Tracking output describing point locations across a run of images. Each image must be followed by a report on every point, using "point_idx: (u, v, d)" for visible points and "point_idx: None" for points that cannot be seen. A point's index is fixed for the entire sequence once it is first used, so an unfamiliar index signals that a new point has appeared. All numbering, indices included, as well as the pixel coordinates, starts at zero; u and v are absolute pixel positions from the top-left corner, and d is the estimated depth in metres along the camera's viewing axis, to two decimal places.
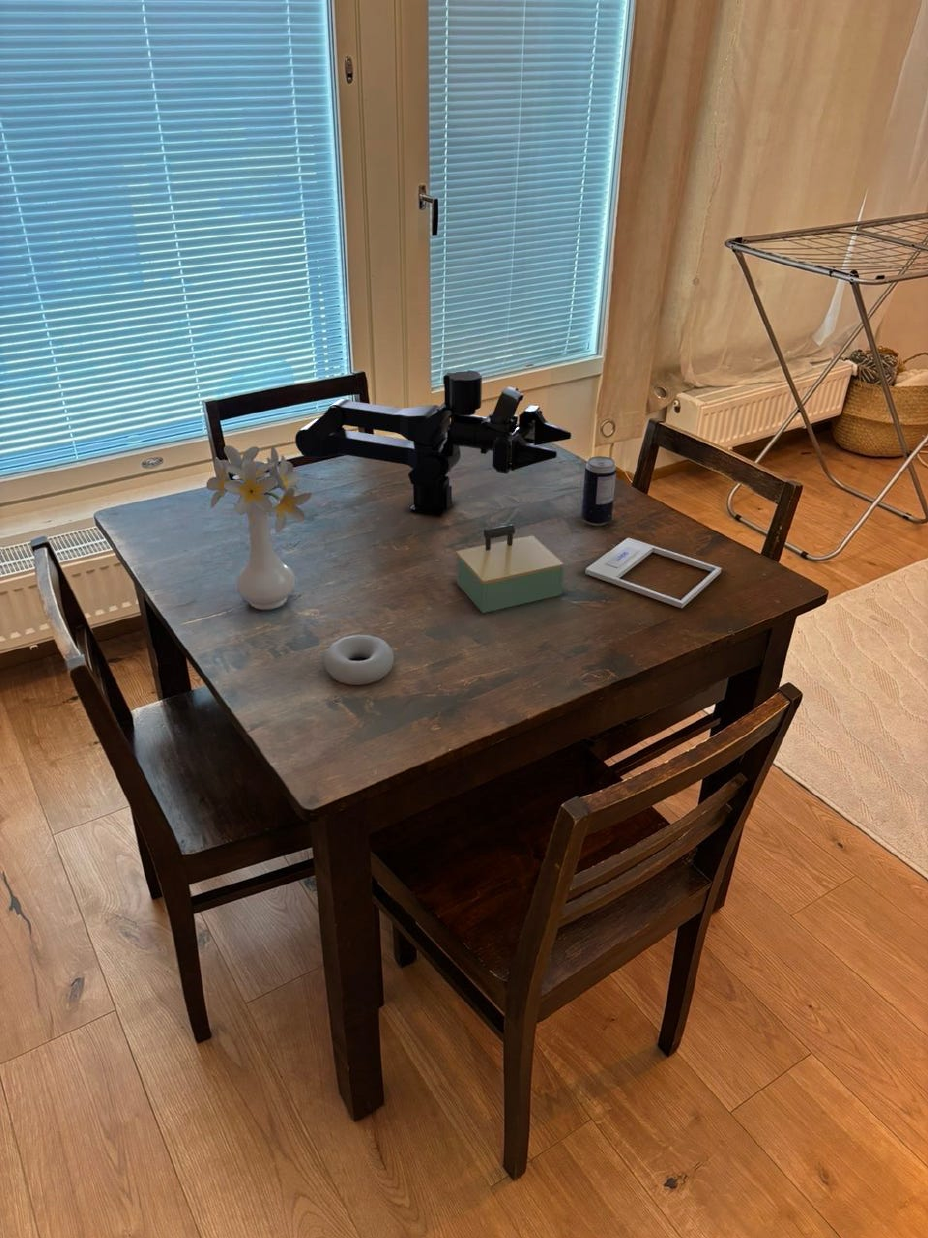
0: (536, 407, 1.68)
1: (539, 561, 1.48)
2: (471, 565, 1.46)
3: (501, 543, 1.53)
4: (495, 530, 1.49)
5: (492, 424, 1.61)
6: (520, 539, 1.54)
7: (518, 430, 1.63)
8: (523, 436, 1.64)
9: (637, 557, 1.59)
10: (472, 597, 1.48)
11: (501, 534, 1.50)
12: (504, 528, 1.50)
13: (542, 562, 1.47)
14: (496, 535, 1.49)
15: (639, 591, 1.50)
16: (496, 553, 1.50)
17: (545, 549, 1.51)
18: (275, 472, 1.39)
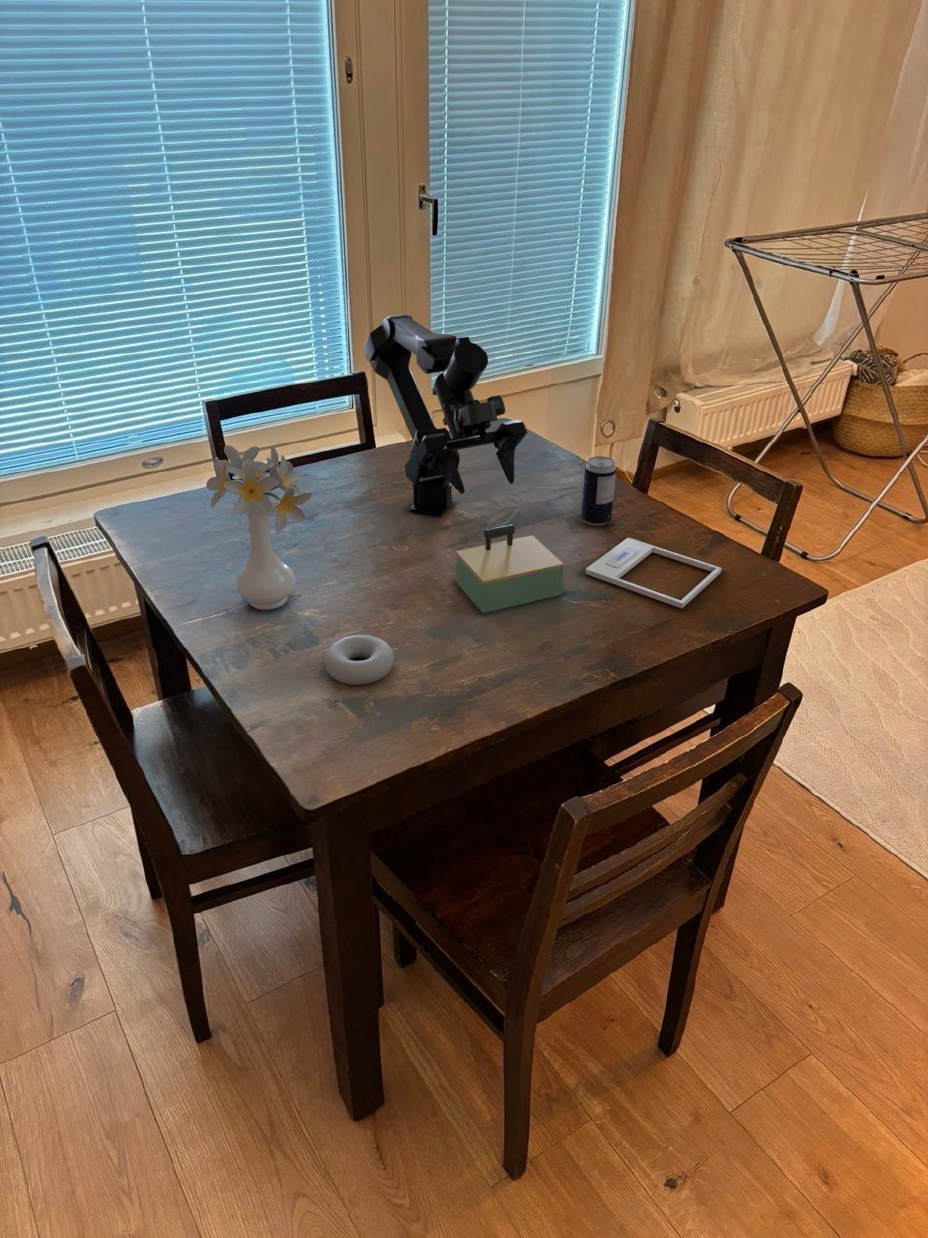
0: (522, 430, 1.54)
1: (539, 561, 1.48)
2: (471, 565, 1.46)
3: (501, 543, 1.53)
4: (495, 530, 1.49)
5: (454, 415, 1.51)
6: (520, 539, 1.54)
7: (475, 438, 1.53)
8: (479, 444, 1.55)
9: (637, 557, 1.59)
10: (472, 597, 1.48)
11: (501, 534, 1.50)
12: (504, 528, 1.50)
13: (542, 562, 1.47)
14: (496, 535, 1.49)
15: (639, 591, 1.50)
16: (496, 553, 1.50)
17: (545, 549, 1.51)
18: (275, 472, 1.39)
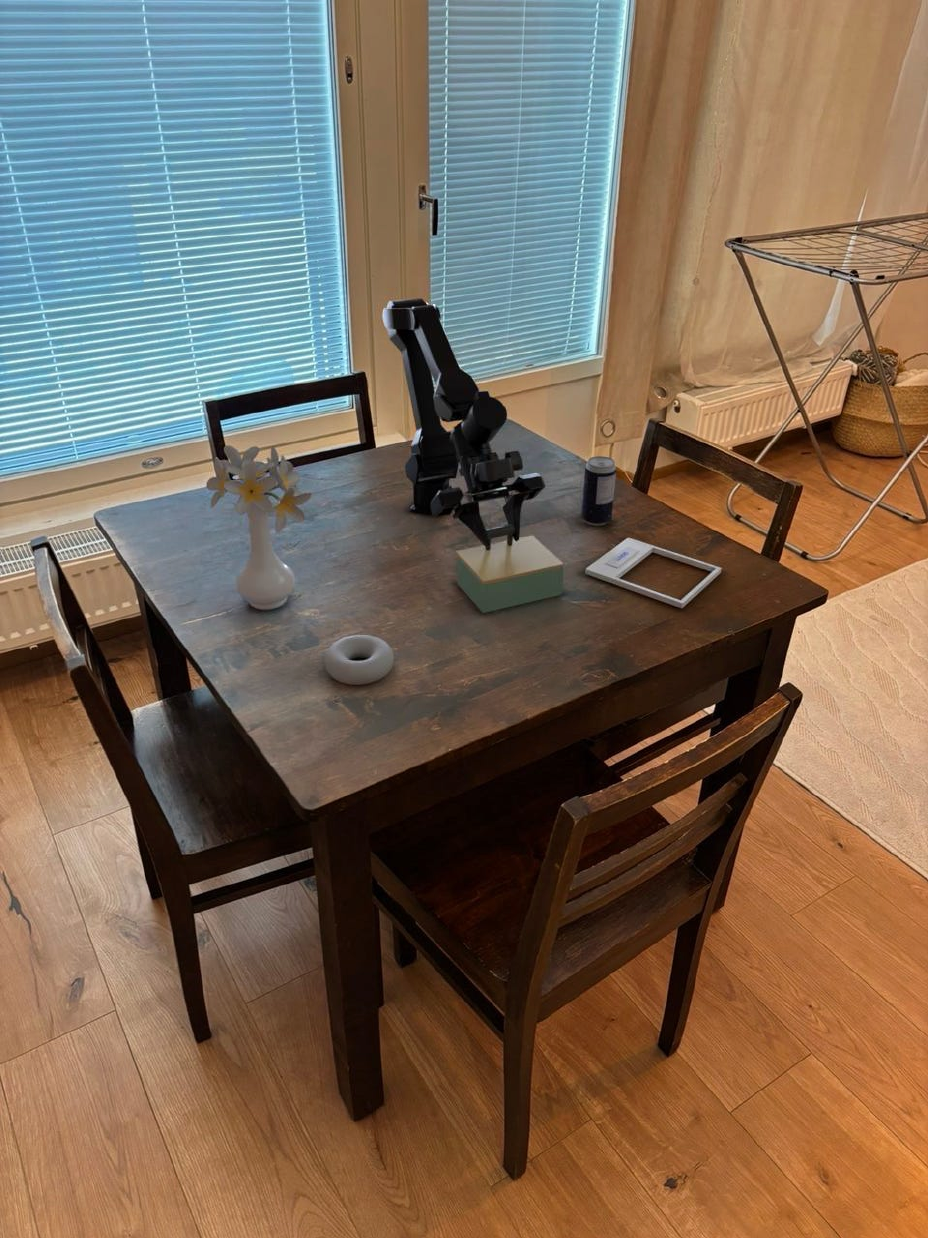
0: (539, 484, 1.51)
1: (539, 561, 1.48)
2: (471, 565, 1.46)
3: (501, 543, 1.53)
4: (495, 530, 1.49)
5: (471, 469, 1.48)
6: (520, 539, 1.54)
7: (502, 490, 1.51)
8: (495, 498, 1.52)
9: (637, 557, 1.59)
10: (472, 597, 1.48)
11: (501, 534, 1.50)
12: (504, 528, 1.50)
13: (542, 562, 1.47)
14: (496, 535, 1.49)
15: (639, 591, 1.50)
16: (496, 553, 1.50)
17: (545, 549, 1.51)
18: (275, 472, 1.39)
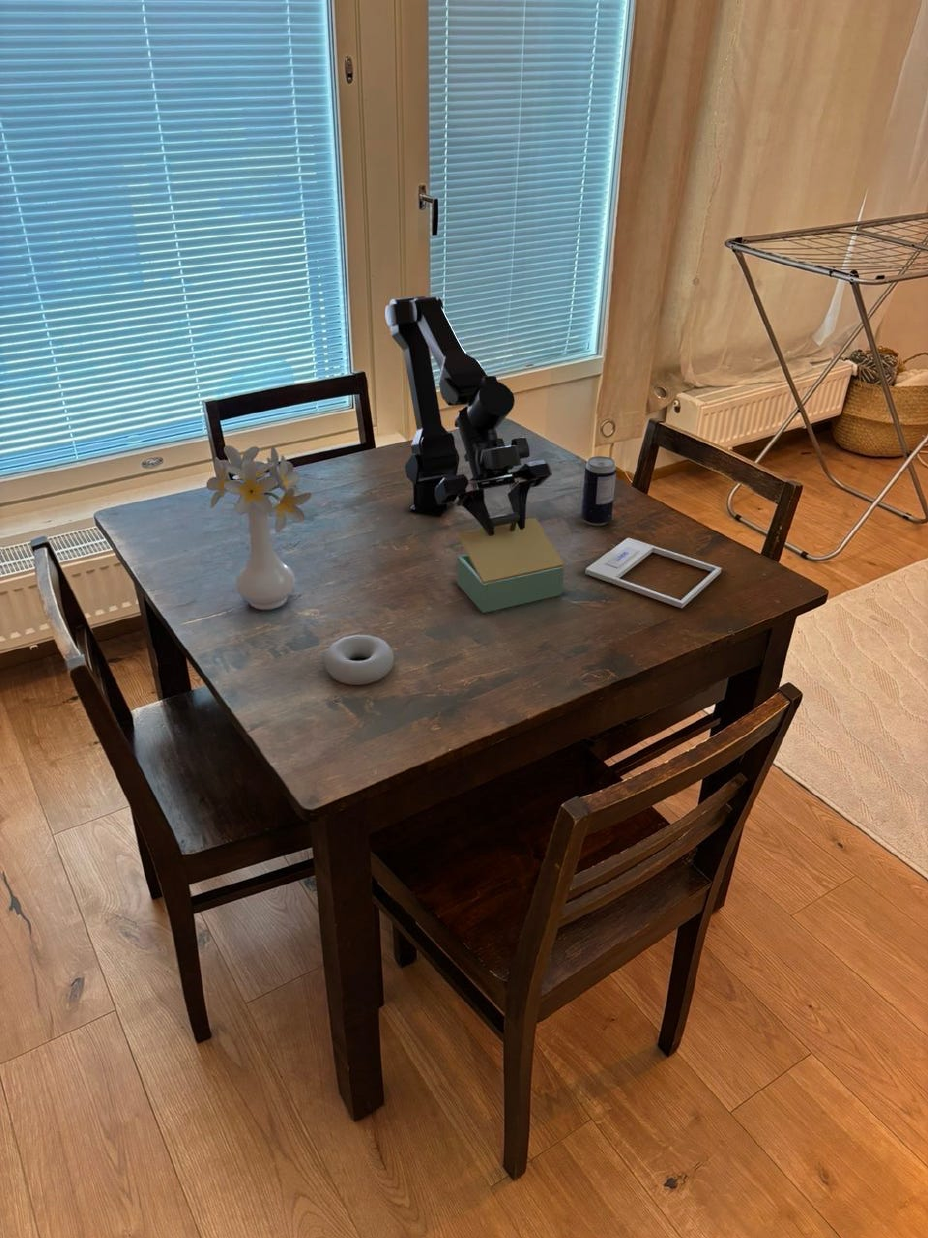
0: (546, 472, 1.48)
1: (539, 557, 1.47)
2: (472, 556, 1.45)
3: (503, 526, 1.50)
4: (500, 520, 1.46)
5: (476, 455, 1.45)
6: None
7: (508, 477, 1.48)
8: (500, 485, 1.49)
9: (637, 557, 1.59)
10: (472, 597, 1.48)
11: (506, 523, 1.47)
12: (509, 518, 1.47)
13: (543, 559, 1.47)
14: (501, 524, 1.47)
15: (639, 591, 1.50)
16: (498, 541, 1.48)
17: (547, 540, 1.50)
18: (275, 472, 1.39)
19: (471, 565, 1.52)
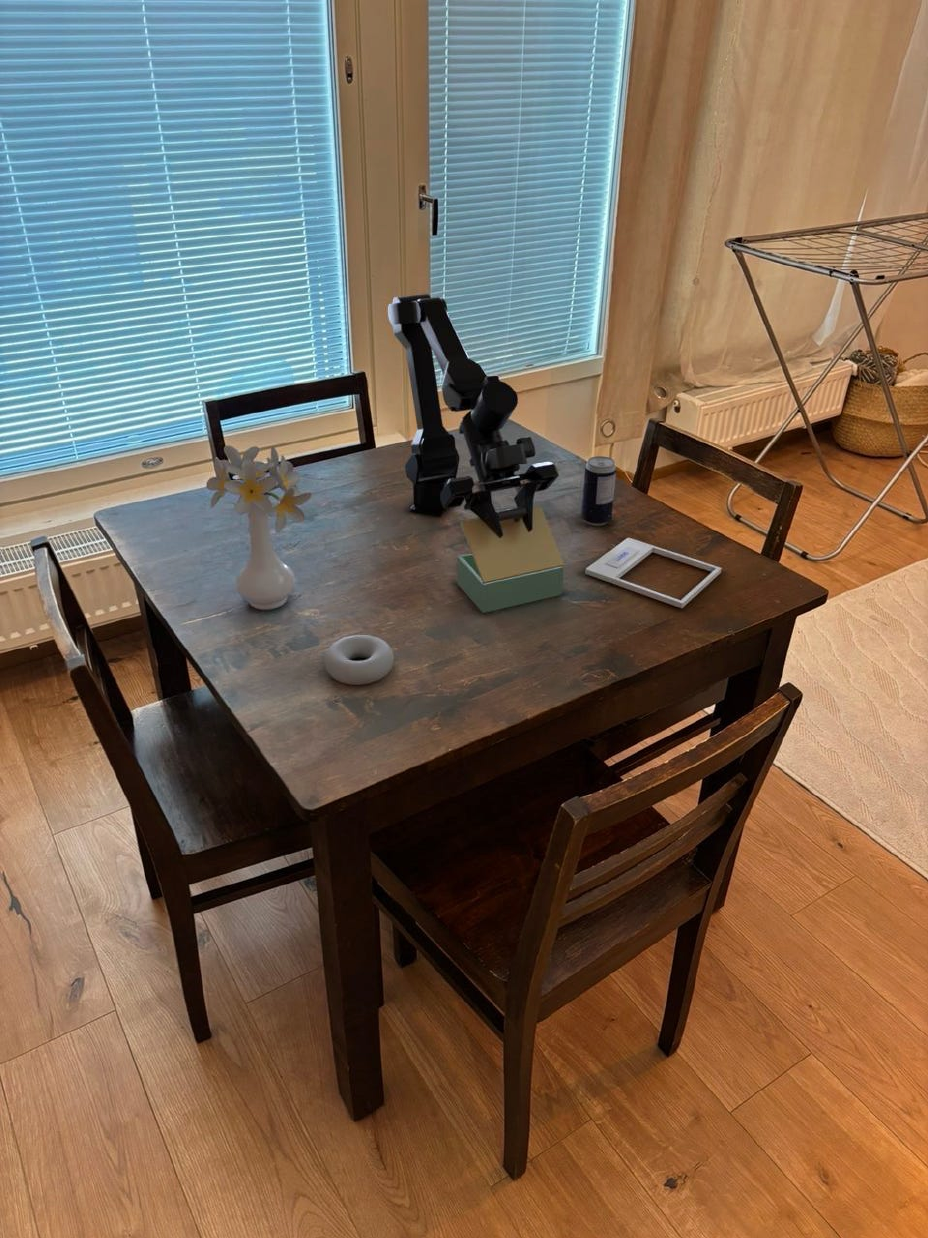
0: (552, 473, 1.46)
1: (541, 555, 1.47)
2: (474, 551, 1.44)
3: None
4: (506, 515, 1.44)
5: (482, 457, 1.43)
6: None
7: (515, 479, 1.46)
8: (507, 487, 1.46)
9: (637, 557, 1.59)
10: (472, 597, 1.48)
11: (511, 518, 1.45)
12: (516, 513, 1.44)
13: (544, 558, 1.46)
14: (506, 519, 1.44)
15: (639, 591, 1.50)
16: None
17: (550, 535, 1.48)
18: (275, 472, 1.39)
19: (471, 565, 1.52)
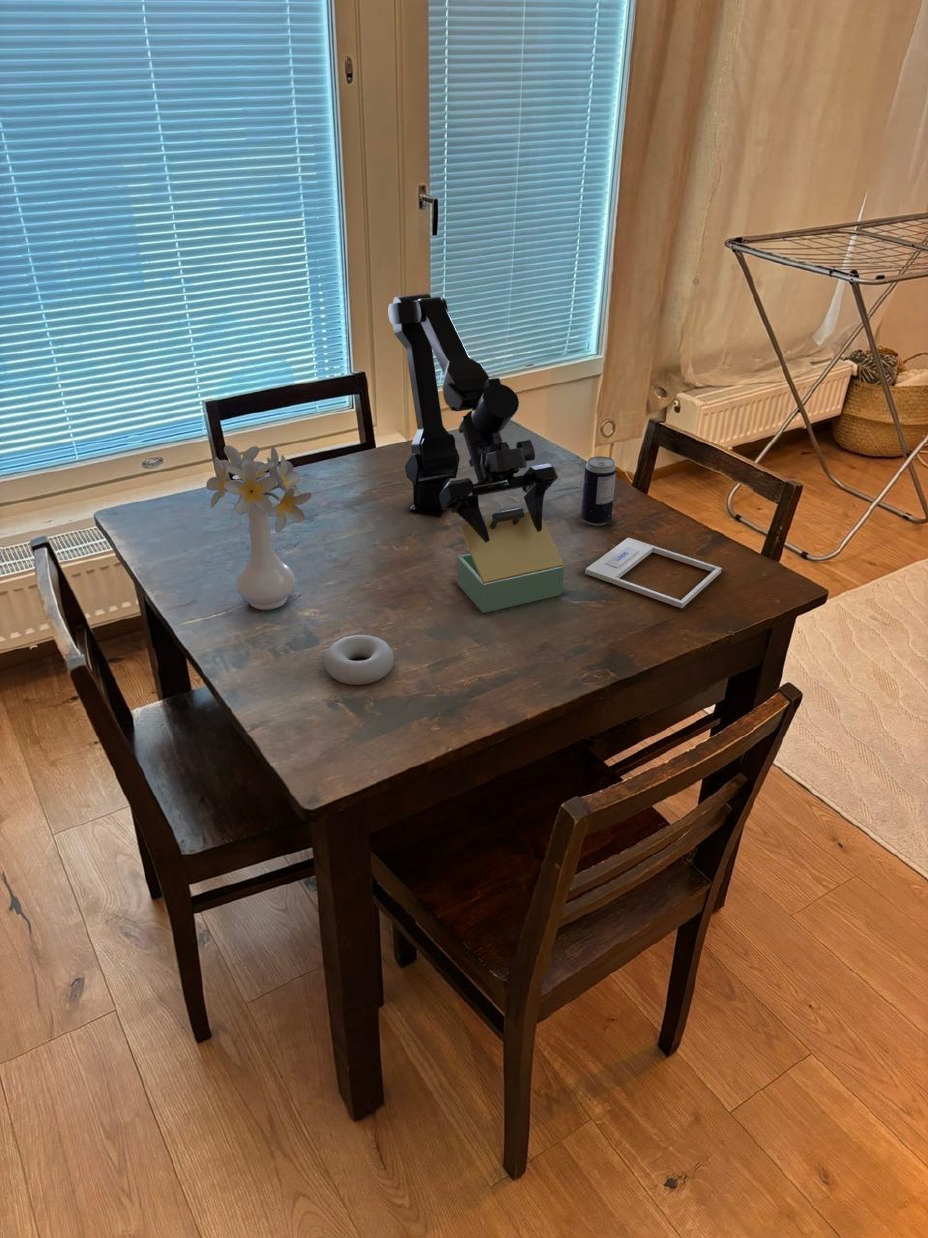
0: (552, 475, 1.46)
1: (540, 556, 1.47)
2: (474, 553, 1.44)
3: None
4: (504, 516, 1.45)
5: (481, 459, 1.44)
6: (526, 515, 1.50)
7: (502, 483, 1.46)
8: (506, 489, 1.47)
9: (637, 557, 1.59)
10: (472, 597, 1.48)
11: (509, 519, 1.45)
12: (513, 514, 1.45)
13: (543, 559, 1.47)
14: (504, 520, 1.45)
15: (639, 591, 1.50)
16: (500, 536, 1.47)
17: (549, 537, 1.49)
18: (275, 472, 1.39)
19: (471, 565, 1.52)
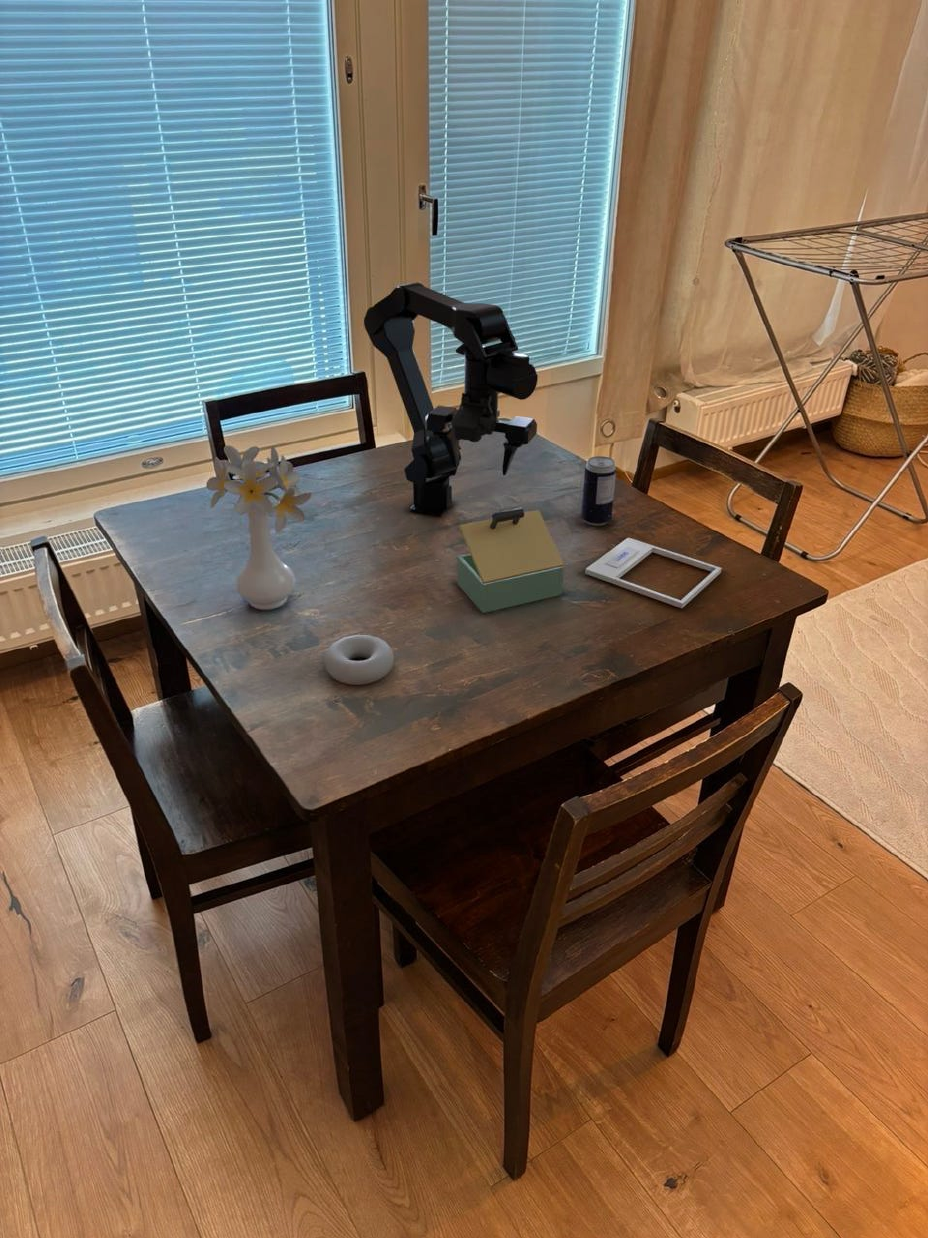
0: (519, 441, 1.54)
1: (540, 556, 1.47)
2: (474, 553, 1.44)
3: None
4: (504, 516, 1.45)
5: None
6: (526, 515, 1.50)
7: None
8: None
9: (637, 557, 1.59)
10: (472, 597, 1.48)
11: (509, 519, 1.45)
12: (513, 514, 1.45)
13: (543, 559, 1.47)
14: (504, 520, 1.45)
15: (639, 591, 1.50)
16: (500, 536, 1.47)
17: (549, 537, 1.49)
18: (275, 472, 1.39)
19: (471, 565, 1.52)
